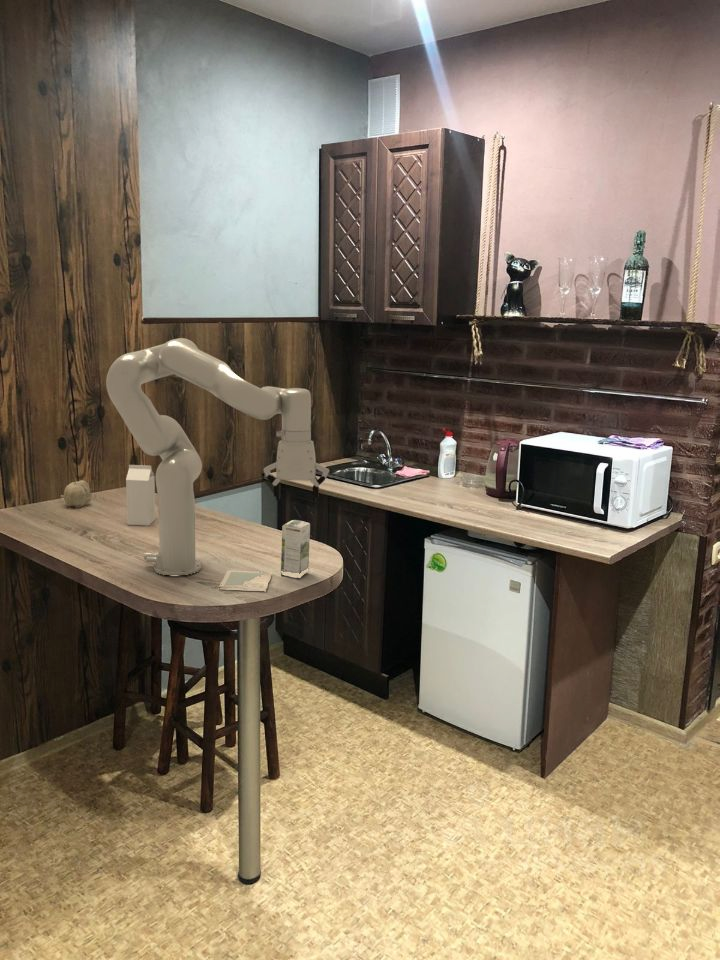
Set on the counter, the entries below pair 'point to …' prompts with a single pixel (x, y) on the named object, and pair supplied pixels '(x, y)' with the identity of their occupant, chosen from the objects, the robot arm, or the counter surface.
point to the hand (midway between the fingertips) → (296, 499)
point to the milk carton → (140, 495)
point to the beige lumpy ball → (77, 494)
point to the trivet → (239, 577)
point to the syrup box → (295, 546)
